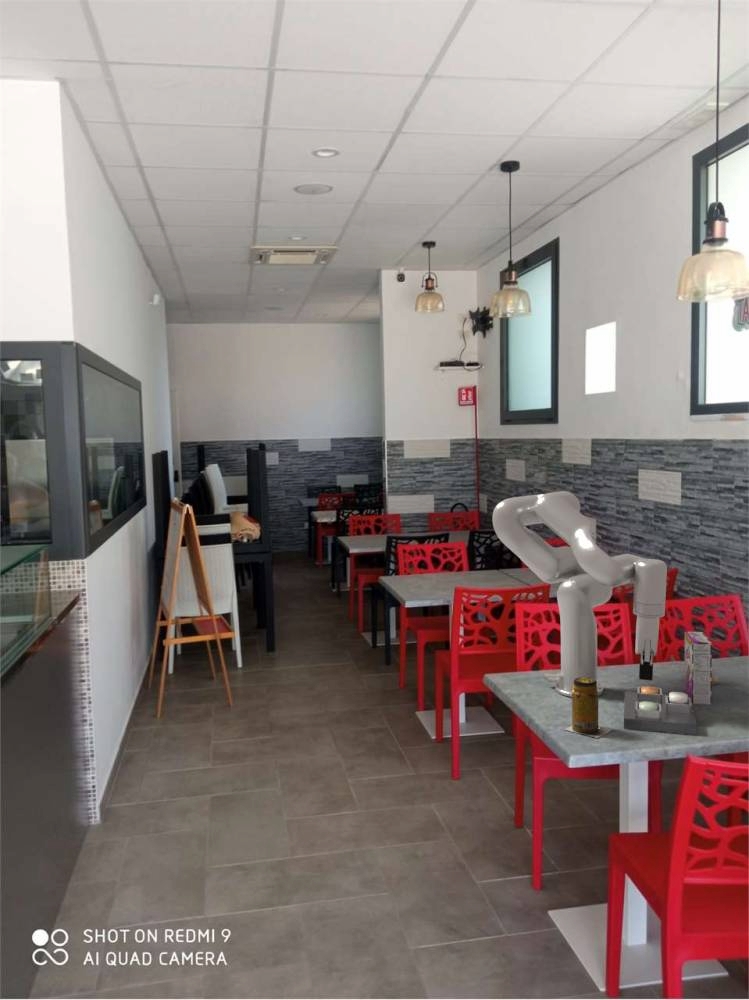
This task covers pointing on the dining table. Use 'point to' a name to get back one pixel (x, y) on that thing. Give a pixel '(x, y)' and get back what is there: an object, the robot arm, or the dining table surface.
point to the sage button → (648, 706)
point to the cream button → (678, 698)
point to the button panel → (658, 714)
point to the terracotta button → (649, 690)
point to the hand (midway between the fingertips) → (645, 678)
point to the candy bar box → (698, 668)
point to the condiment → (585, 708)
